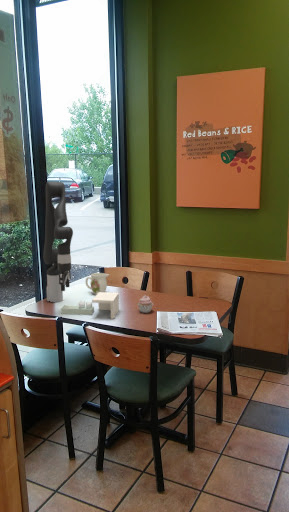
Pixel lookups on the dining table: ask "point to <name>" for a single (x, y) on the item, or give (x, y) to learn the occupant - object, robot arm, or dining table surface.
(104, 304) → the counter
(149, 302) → the cupcake
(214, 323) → the dining table surface
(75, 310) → the caddy
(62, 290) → the robot arm
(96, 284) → the pitcher
